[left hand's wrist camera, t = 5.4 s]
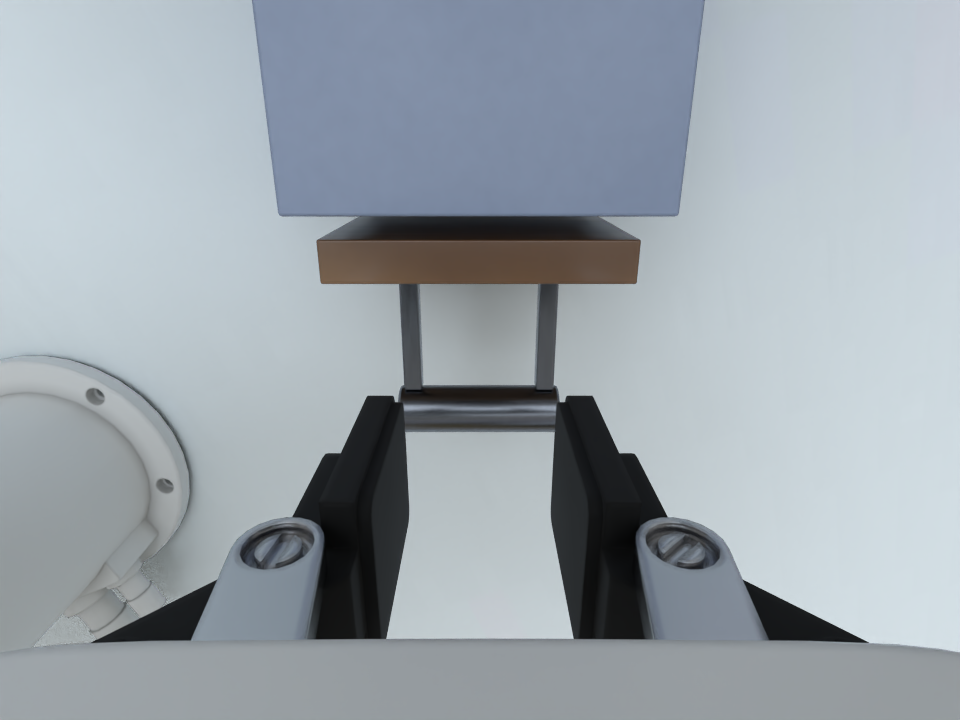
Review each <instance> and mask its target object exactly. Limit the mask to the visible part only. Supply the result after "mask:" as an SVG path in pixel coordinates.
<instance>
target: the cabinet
mask: <svg viewBox="0 0 960 720" xmlns="http://www.w3.org/2000/svg"><path fill="white" fill-rule="evenodd" d="M704 1H705V0H252V4H253V12H254V20H255V28H256V36H257V44H258V53H259V61H260V69H261V77H262V85H263V93H264V101H265V109H266V117H267V126H268V134H269V142H270V150H271V158H272V166H273V174H274V182H275V190H276V199H277V207H278V213H279V215H280V216H677V215H678V213H679V207H680V199H681V190H682V182H683V174H684V166H685V158H686V149H687V141H688V133H689V125H690V116H691V108H692V100H693V92H694V84H695V75H696V67H697V59H698V51H699V42H700V34H701V26H702V18H703V10H704Z"/></svg>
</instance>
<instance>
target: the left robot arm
mask: <svg viewBox="0 0 960 720" xmlns="http://www.w3.org/2000/svg"><path fill="white" fill-rule="evenodd" d="M189 494H190V486H189V472H188V468H187V465H186V461H185V458H184V454H183V451H182V449H181V447H180V445H179V443H178V441H177V439H176V437H175V435H174V433H173V432H172V430H171V429H170V428H169V426H168V425H167V424H166V422H165V421H164V420H163V418H162V417H161V416H160V414H159V413H158V412H157V411H156V410H155V409H154V408H153V407H152V406H151V405H150V404H149V403H148V402H147V401H146V400H145V399H144V398H143V397H141V396H140V395H139V394H138V393H136V392H135V391H133V390H132V389H131V388H129V387H128V386H126V385H125V384H124V383H122V382H121V381H119V380H118V379H116V378H114V377H112V376H110V375H108V374H106V373H104V372H102V371H100V370H98V369H96V368H93V367H90V366H87V365H84V364H81V363H78V362H75V361H72V360H68V359H62V358H56V357H49V356H17V357H12V358H7V359H2V360H0V720H960V653H959V652H954V651H949V650H943V649H937V648H927V647H917V646H907V645H898V644H878V643H869V642H867V641H865V640H863V639H861V638H859V637H857V636H855V635H853V634H851V633H849V632H847V631H845V630H843V629H841V628H839V627H837V626H835V625H833V624H831V623H829V622H827V621H825V620H823V619H820V618H818V617H816V616H814V615H812V614H810V613H808V612H806V611H804V610H802V609H800V608H798V607H796V606H794V605H792V604H790V603H788V602H786V601H784V600H782V599H780V598H778V597H776V596H774V595H772V594H770V593H768V592H766V591H764V590H762V589H760V588H758V587H756V586H754V585H752V584H750V583H748V582H746V581H744V580H743V579H742V577H741V575H740V572H739V570H738V568H737V566H736V563H735V561H734V559H733V556H732V554H731V552H730V550H729V548H728V546H727V545H726V543H725V542H724V540H723V539H722V538H721V537H720V536H718V535H717V534H716V533H715V532H714V531H712V530H710V529H708V528H707V527H705V526H703V525H701V524H698V523H695V522H693V521H690V520H686V519H680V518H674V517H667V515H666V513H665V511H664V509H663V507H662V505H661V503H660V501H659V499H658V497H657V495H656V493H655V491H654V489H653V487H652V486H651V484H650V482H649V480H648V478H647V476H646V474H645V472H644V470H643V468H642V466H641V464H640V462H639V460H638V458H637V457H636V455H635V454H632V453H619V452H618V450H617V448H616V446H615V443H614V441H613V439H612V437H611V435H610V433H609V430H608V428H607V426H606V424H605V422H604V419H603V417H602V415H601V413H600V411H599V409H598V406H597V404H596V402H595V400H594V398H593V396H567V397H566V400H565V402H557V406H556V420H555V439H554V458H553V477H552V496H551V522H552V528H553V533H554V538H555V543H556V548H557V554H558V559H559V564H560V569H561V574H562V580H563V585H564V590H565V595H566V600H567V606H568V611H569V616H570V621H571V626H572V632H573V637H574V639H386V637H387V632H388V626H389V621H390V616H391V611H392V606H393V600H394V595H395V590H396V585H397V580H398V574H399V569H400V564H401V559H402V554H403V548H404V543H405V538H406V533H407V528H408V522H409V496H408V477H407V458H406V438H405V419H404V405H403V402H395V400H394V397H393V396H367V398H366V400H365V402H364V404H363V406H362V409H361V411H360V413H359V415H358V417H357V420H356V422H355V424H354V426H353V428H352V430H351V433H350V435H349V437H348V439H347V441H346V443H345V446H344V448H343V450H342V452H341V453H328V454H325V455H324V457H323V458H322V460H321V462H320V464H319V466H318V468H317V470H316V472H315V474H314V476H313V478H312V480H311V482H310V484H309V486H308V487H307V489H306V491H305V493H304V495H303V497H302V499H301V501H300V503H299V505H298V507H297V509H296V511H295V513H294V515H293V517H286V518H280V519H274V520H270V521H267V522H265V523H262V524H259V525H257V526H255V527H253V528H252V529H250V530H248V531H246V532H245V533H244V534H243V535H242V536H240V537H239V538H238V539H237V540H236V542H235V543H234V545H233V546H232V548H231V550H230V552H229V554H228V556H227V559H226V561H225V563H224V566H223V568H222V570H221V572H220V575H219V577H218V579H217V580H216V581H214V582H212V583H210V584H208V585H206V586H204V587H202V588H200V589H198V590H196V591H194V592H192V593H190V594H188V595H186V596H184V597H182V598H180V599H178V600H176V601H174V602H172V603H170V604H168V605H166V606H164V607H162V606H163V605H164V604H165V602H166V600H167V599H166V598H165V597H164V596H163V594H162V593H161V592H160V591H159V590H158V589H157V587H156V586H155V585H154V584H153V583H152V581H149V580H148V579H147V578H146V577H145V576H144V574H143V573H142V572H141V571H140V568H141V567H142V564H143V562H145V561H146V560H148V559H150V558H151V557H153V556H154V555H155V554H156V553H157V552H158V551H159V550H160V549H161V548H162V547H163V546H164V545H165V544H166V543H167V542H168V541H169V539H170V538H171V537H172V535H173V534H174V533H175V531H176V530H177V529H178V527H179V526H180V524H181V522H182V519H183V517H184V515H185V513H186V510H187V505H188V500H189ZM114 588H117V589H118V591H119V592H120V593H121V594H122V595H123V596H124V597H125V598H126V602H127V603H128V604H129V605H130V607H131V608H132V609H133V610H134V611H135V612H136V613H137V615H138V616H139V617H140V618H139V617H138V616H137V615H136V613H135V612H134V611H133V610H132V609H131V608H130V607H129V605H128V604H127V603H126V602H122V601H121V600H120V599H119V598H118V597H117V596H116V594H115V593H114V592H113V591H112V590H111V589H114ZM161 607H162V608H161ZM62 614H63V615H64V616H65V617H68V618H69V617H72V616H75V615H77V616H78V617H79V618H80V619H81V620H82V621H83V622H84V623H85V624H86V625H87V626H88V627H89V628H90V631H89V632H90V633H91V634H92V635H93V636H94V637H95V638H96V639H97V640H95V641H93V642H91V643H82V644H62V645H53V646H43V647H33V646H34V645H35V644H36V642H37V641H38V640H39V639H40V638H41V637H42V636H43V635H44V634H45V632H46V631H47V630H48V629H49V628H50V627H51V626H52V625H53V624H54V623H55V621H56V620H57V619H58V618H59V617H60V616H61V615H62ZM32 647H33V648H32Z"/></svg>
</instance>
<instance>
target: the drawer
mask: <svg viewBox="0 0 960 720" xmlns="http://www.w3.org/2000/svg"><path fill="white" fill-rule="evenodd" d="M640 244H641V241H640V240H639V239H637V238H636V237H634V236H632V235H630V234H628V233H627V232H625V231H623V230H621V229H619V228H618V227H616V226H614V225H612V224H610V223H609V222H607V221H605V220H603V219H602V218H600V217H598V216H360V217H358V218H356V219H354V220H353V221H351V222H349V223H347V224H345V225H344V226H342V227H340V228H338V229H336V230H334V231H333V232H331V233H329V234H327V235H325V236H324V237H322V238H320V239H318V240H317V251H318V261H319V271H320V281H321V283H322V284H399V290H400V310H401V329H402V349H403V368H404V385H403V386H401V388H400V391H399V398H398V402H403V405H404V419H405V432H555V420H556V406H557V402H560V401H559V392H558V389H557V386H555V385H553V383H554V363H555V343H556V323H557V303H558V284H635V283H636V282H637V274H638V264H639V254H640ZM420 284H538V300H537V327H536V354H535V381H534V383H535V385H423V361H422V335H421V309H420Z"/></svg>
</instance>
